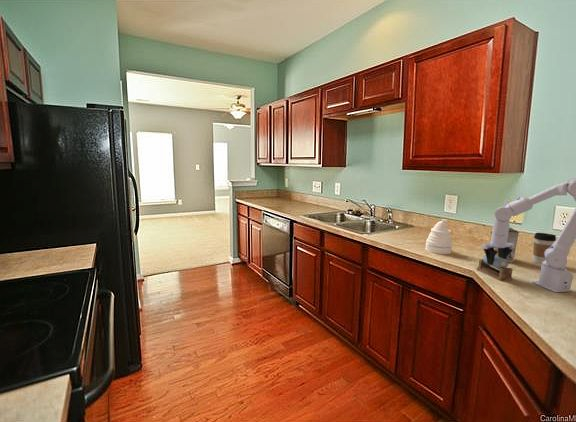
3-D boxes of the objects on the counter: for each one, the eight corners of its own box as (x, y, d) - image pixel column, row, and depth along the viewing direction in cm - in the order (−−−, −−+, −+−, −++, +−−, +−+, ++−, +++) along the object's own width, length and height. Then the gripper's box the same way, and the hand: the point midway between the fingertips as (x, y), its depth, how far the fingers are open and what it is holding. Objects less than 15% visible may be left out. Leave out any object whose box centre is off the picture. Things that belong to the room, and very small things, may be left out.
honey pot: (456, 253, 164) (460, 221, 161) (437, 255, 161) (441, 221, 157) (438, 246, 176) (442, 216, 173) (420, 247, 173) (423, 217, 169)
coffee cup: (543, 266, 147) (548, 236, 145) (525, 260, 155) (530, 232, 153) (555, 264, 150) (561, 235, 147) (537, 259, 158) (542, 231, 155)
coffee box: (491, 255, 162) (496, 226, 159) (505, 256, 160) (510, 227, 157) (500, 261, 153) (505, 230, 150) (514, 262, 151) (519, 231, 148)
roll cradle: (487, 269, 142) (489, 258, 141) (511, 279, 129) (513, 268, 128) (476, 269, 140) (478, 259, 140) (499, 280, 128) (501, 269, 127)
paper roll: (507, 270, 131) (509, 259, 130) (497, 270, 130) (499, 259, 129) (491, 263, 139) (493, 253, 138) (482, 263, 138) (484, 253, 137)
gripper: (506, 231, 137) (501, 260, 139) (478, 232, 134) (474, 261, 137) (520, 235, 130) (515, 265, 132) (491, 236, 127) (486, 266, 130)
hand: (495, 263), depth 134 cm, fingers closed on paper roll, 5 cm apart
